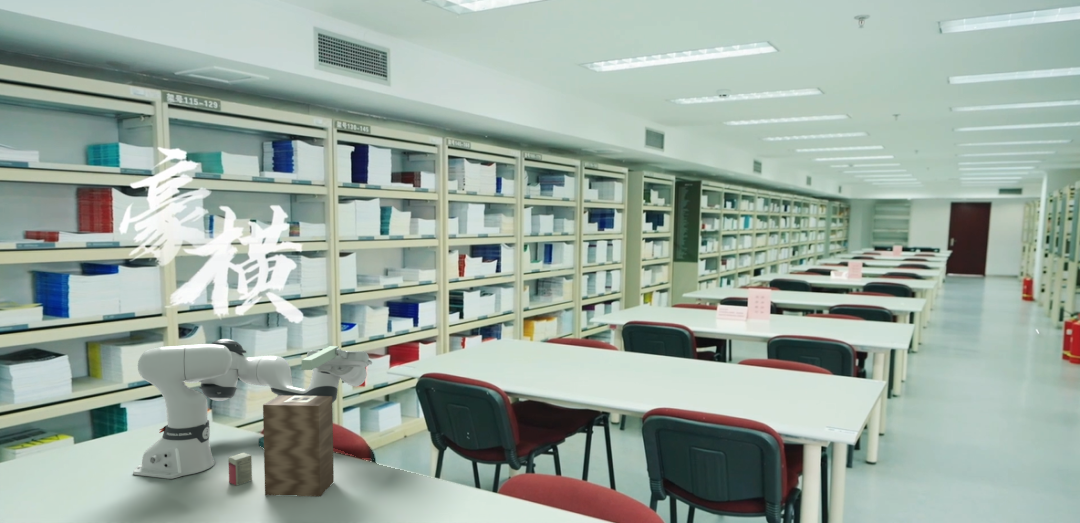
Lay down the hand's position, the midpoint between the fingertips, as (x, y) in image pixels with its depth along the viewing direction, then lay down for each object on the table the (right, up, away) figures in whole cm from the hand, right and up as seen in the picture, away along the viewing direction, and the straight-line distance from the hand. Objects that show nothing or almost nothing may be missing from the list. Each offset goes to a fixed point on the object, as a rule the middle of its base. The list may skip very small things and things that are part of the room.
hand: (330, 351), depth 206 cm
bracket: (-22, -36, +12) cm, 44 cm away
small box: (-21, -37, -17) cm, 46 cm away
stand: (-1, -37, -22) cm, 43 cm away
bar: (0, -2, -8) cm, 8 cm away
